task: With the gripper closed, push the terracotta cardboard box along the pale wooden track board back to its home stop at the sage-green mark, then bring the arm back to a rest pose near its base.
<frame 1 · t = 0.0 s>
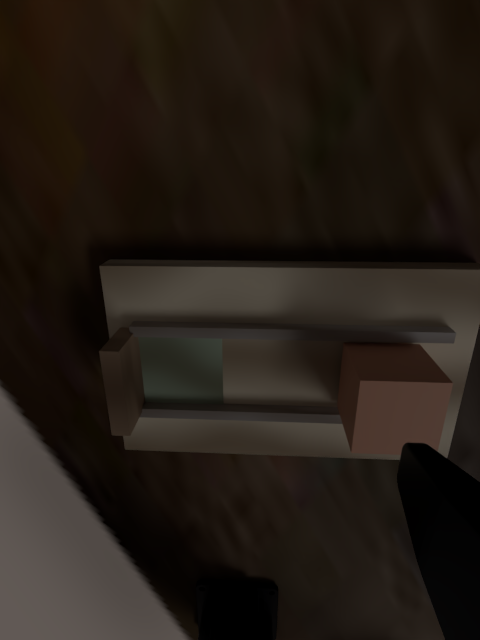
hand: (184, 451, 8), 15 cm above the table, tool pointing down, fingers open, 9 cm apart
track board: (284, 358, 24), on the table
terracotta cardboard box: (387, 395, 20), point 4 cm above the table, slide at -11.0 cm
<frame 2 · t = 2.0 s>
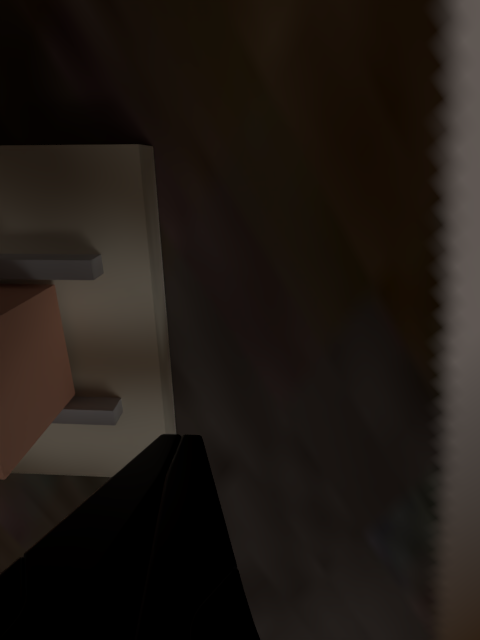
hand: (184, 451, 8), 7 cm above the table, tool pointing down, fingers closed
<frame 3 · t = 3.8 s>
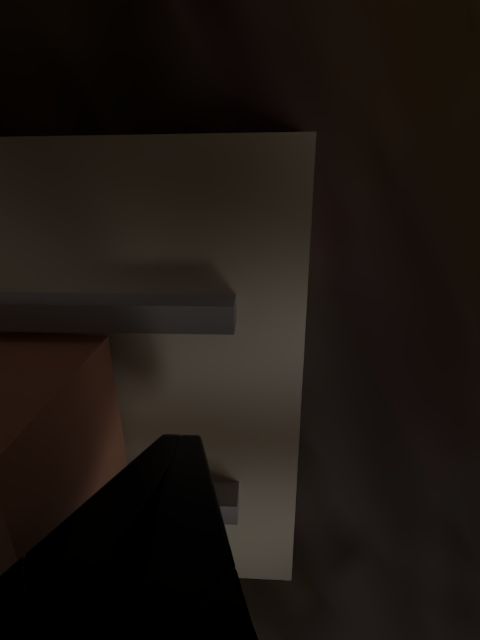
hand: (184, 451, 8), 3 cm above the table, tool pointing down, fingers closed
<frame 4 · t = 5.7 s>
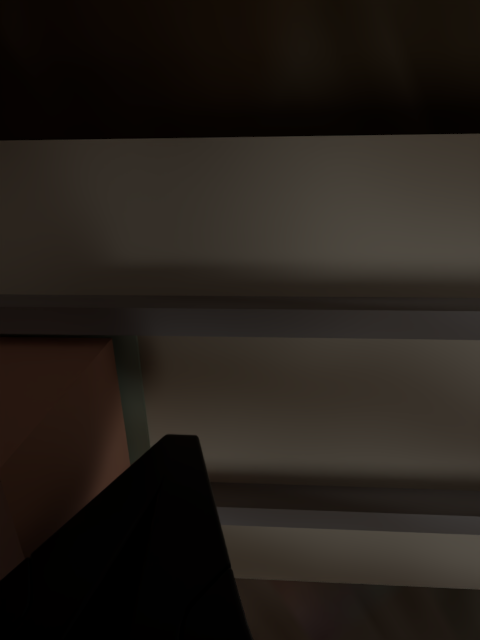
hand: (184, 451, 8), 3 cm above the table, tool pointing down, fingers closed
track board: (288, 379, 11), on the table
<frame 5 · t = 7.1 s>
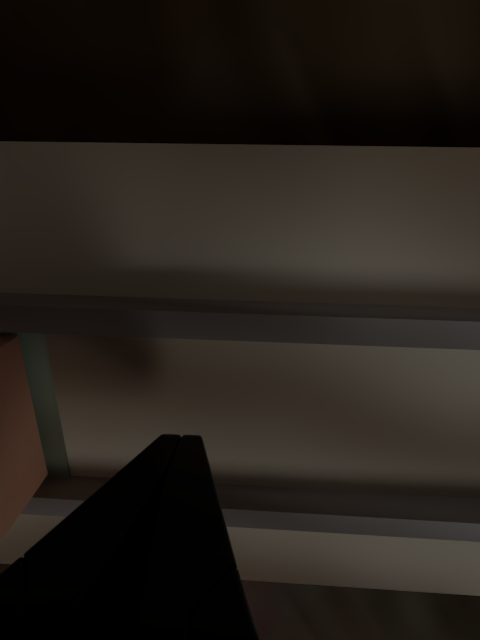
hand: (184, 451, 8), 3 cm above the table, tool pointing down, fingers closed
track board: (208, 379, 11), on the table
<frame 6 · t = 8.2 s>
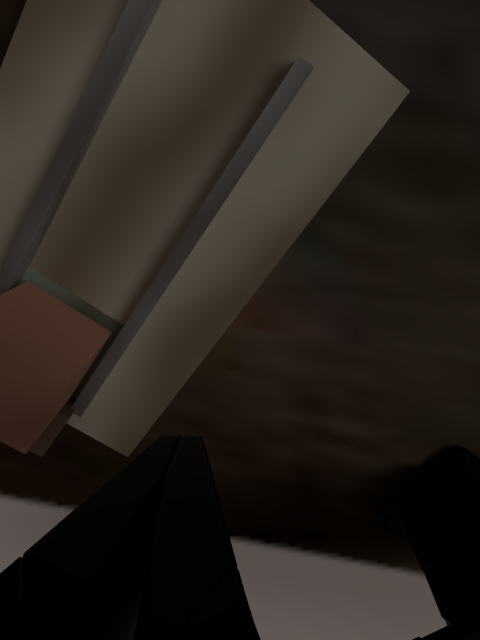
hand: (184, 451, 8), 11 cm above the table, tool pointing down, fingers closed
track board: (129, 222, 17), on the table
terracotta cardboard box: (26, 362, 15), point 4 cm above the table, slide at 0.0 cm
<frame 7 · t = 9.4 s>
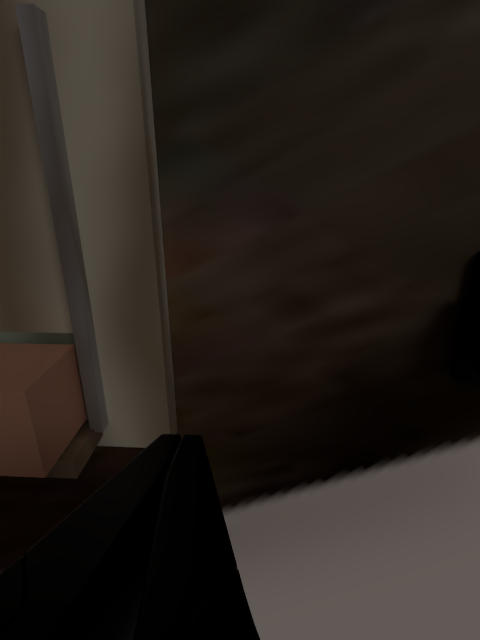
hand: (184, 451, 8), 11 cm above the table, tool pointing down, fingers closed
track board: (36, 248, 18), on the table
terracotta cardboard box: (15, 405, 17), point 4 cm above the table, slide at 0.0 cm
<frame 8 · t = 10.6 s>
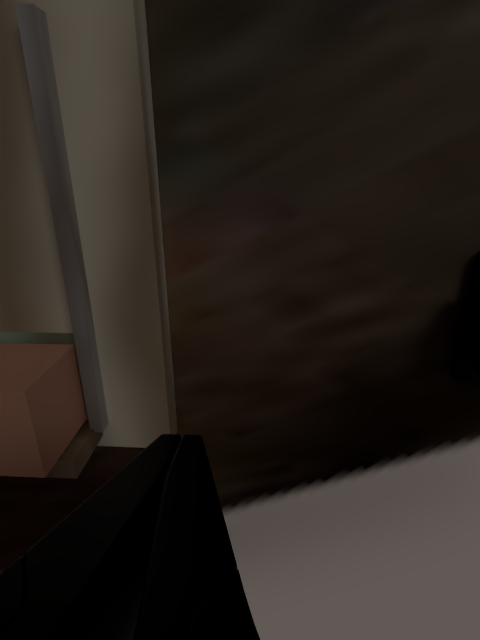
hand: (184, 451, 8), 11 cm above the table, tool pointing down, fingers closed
track board: (36, 248, 18), on the table
terracotta cardboard box: (15, 405, 17), point 4 cm above the table, slide at 0.0 cm
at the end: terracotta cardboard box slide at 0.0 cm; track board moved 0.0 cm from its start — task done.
